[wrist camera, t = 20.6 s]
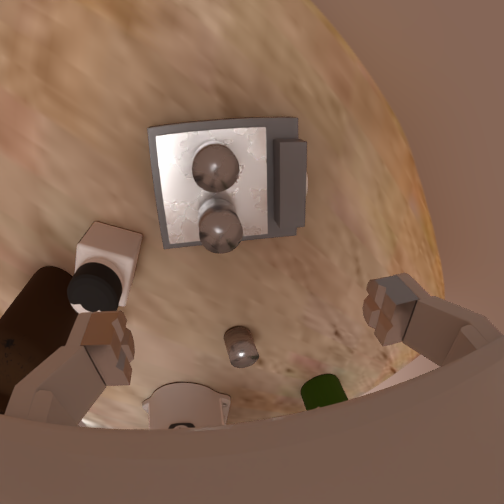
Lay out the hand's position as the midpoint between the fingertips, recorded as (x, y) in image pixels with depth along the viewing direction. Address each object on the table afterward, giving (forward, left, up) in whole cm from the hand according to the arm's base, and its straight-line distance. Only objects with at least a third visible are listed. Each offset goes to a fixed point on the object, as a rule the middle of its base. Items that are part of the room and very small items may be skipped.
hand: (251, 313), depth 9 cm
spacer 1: (0, 0, -26) cm, 26 cm away
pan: (-3, 0, -26) cm, 27 cm away
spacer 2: (-7, 0, -26) cm, 27 cm away
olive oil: (-17, +26, -29) cm, 43 cm away
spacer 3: (-29, -2, -29) cm, 41 cm away
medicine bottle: (-11, +14, -29) cm, 35 cm away
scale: (-3, -2, -29) cm, 29 cm away
